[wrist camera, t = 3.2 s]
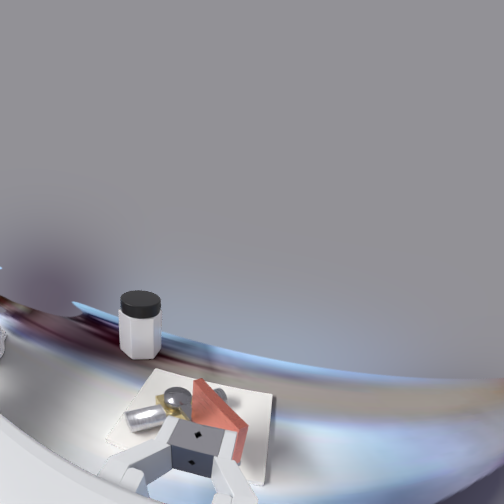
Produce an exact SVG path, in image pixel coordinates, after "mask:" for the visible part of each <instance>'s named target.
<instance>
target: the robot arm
mask: <svg viewBox="0 0 504 504" xmlns="http://www.w3.org/2000/svg"><path fill="white" fill-rule="evenodd" d="M5 338H6V332H5V331H4V330H2V329H1V327H0V358H1V357H2V355H3V353H4V350H5V345H4V340H5ZM236 438H237V432H235V431H230V430H225V429H221V428H216V427H211V426H207V425H201V424H198V423H194V422H190V421H187V420H184V419H180V418H177V417H173V416H170V415H168V416H167V417H166V419H165V421H164V423H163V425H162V427H161V429H160V431H159V432H158V434H157V436H156V438H155V440H154V439H150V440H148V441H145V442H143V443H141V444H139V445H136V446H134V447H132V448H129V449H127V450H125V451H122V452H120V453H117V454H115V455H112V456H110V457H109V458H108V459H107V461H106V462H105V464H104V465H103V467H102V468H101V470H100V471H99V473H98V474H97V476H96V475H94V474H92V473H90V472H88V471H86V470H84V469H82V468H80V467H78V466H77V465H75V464H73V463H71V462H69V461H68V460H66V459H64V458H63V457H61V456H59V455H58V454H56V453H54V452H53V451H51V450H50V449H48V448H47V447H45V446H44V445H42V444H41V443H39V442H38V441H36V440H35V439H33V438H32V437H30V436H29V435H28V434H26V433H25V432H24V431H22V430H21V429H20V428H18V427H17V426H16V425H14V424H13V423H12V422H10V421H9V420H8V419H7V418H6V417H4V416H3V415H2V414H1V413H0V504H166V503H163V502H160V501H157V500H154V499H151V498H150V497H149V493H148V489H147V485H148V484H149V483H151V482H153V481H154V480H156V479H157V478H159V477H161V476H162V475H164V474H165V473H167V472H168V471H170V470H171V469H172V468H174V469H177V470H181V471H185V472H189V473H193V474H196V475H200V476H204V477H208V478H211V480H212V483H213V485H214V487H215V490H216V492H217V494H215V495H214V498H213V501H212V504H258V498H257V496H256V495H255V493H254V491H253V490H252V488H251V487H250V485H249V483H248V482H247V480H246V478H245V477H244V475H243V473H242V472H241V470H240V468H239V466H238V465H237V463H236V461H235V460H232V457H233V452H234V448H235V443H236Z"/></svg>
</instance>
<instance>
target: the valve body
mask: <svg viewBox="0 0 504 504" xmlns="http://www.w3.org/2000/svg"><path fill="white" fill-rule="evenodd" d="M214 391H215V392H216V393H217V394H218V396H219V397H220V398H221V399H222V400H223V401H224V402H225V403H226V404H227V403H228V400H227V396H226V394H225V392H224V391H223V390H222V389H221V388H217V389H214ZM155 399H156V405H154V406H150V407H145V408H141V409H136V410H131V411H126V412H124V416H125V420H126V423H127V425H128V428H129V430H130V431H131V432H136V431H141V430H145V429H149V428H153V427H157V426H161V425H163V423H164V421H165V419H166V417H167V416H168V415H170V416H173V417H177V418H180V419H184V420H186V419H185V418H184V416H183V415H182V414H181V412H180V411H179V410H173V409H171V408H169V407H167V406H166V404H165V403H164V394H162V395H157V396H155ZM191 406H192V401H191Z"/></svg>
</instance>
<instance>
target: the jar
mask: <svg viewBox="0 0 504 504" xmlns="http://www.w3.org/2000/svg"><path fill="white" fill-rule="evenodd" d="M160 308H161V300H160V297H159V296H157V295H156V294H154V293H152V292H148V291H139V290H138V291H129V292H126V293H124V294H123V295H122V296H121V308H120V309H119V335H120V349H121V350H122V351H123V352H124V353H126V354H127V355H128V356H129V357H130V358H131V359H154V357H155V356H156V355H157V353H158V352H159V351H160V349H161V329H162V327H161V326H162V310H161V309H160Z"/></svg>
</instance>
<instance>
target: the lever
mask: <svg viewBox="0 0 504 504" xmlns="http://www.w3.org/2000/svg"><path fill="white" fill-rule="evenodd" d="M191 401H192V406H191ZM164 403H165V404H166V406H167V407H169V408H171V409H173V410H179V411H180V412H181V414H182V415H183V416H184V418H185V419H186V420H187V421H190V422H194V423H198V424H201V425H207V426H211V427H216V428H221V429H225V430H230V431H235V432H237V438H236V443H235V448H234V452H233V457H232V460H235V461H236V463H237V465H238V466H240V465H241V456H242V452H243V448H244V444H245V439H246V435H247V431H248V427H249V425H248V424H247V423H246V422H245V421H244V420H243V419H242V418H240V417H239V416H238V415H237V414H236V413H235V412H234V411H233V410H232V409H231V408H230V407H229V406H228V405H227V404H226V403H225V402H224V401H223V400H222V399H221V398H220V397H219V396H218V394H217V393H216V392H215V391H214V390H213V389H212V388H211V387H210V386H209V385H208V384H207V383H206V382H205V381H204V380H203V379H202V378H201V379H197V380H193V394H192V395H191V393H190V392H189V391H188V390H187V389H185V388H182V387H171V388H168V389H167V390H166V391H165V392H164Z"/></svg>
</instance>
